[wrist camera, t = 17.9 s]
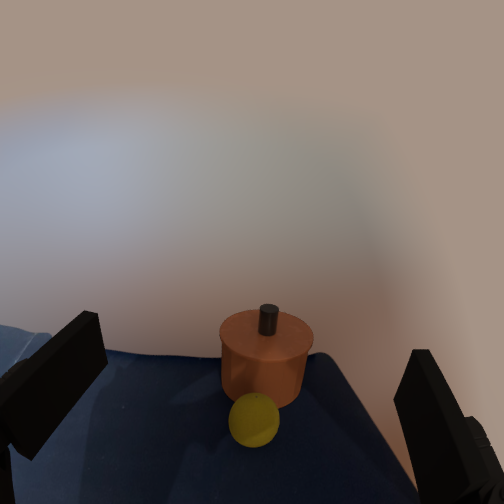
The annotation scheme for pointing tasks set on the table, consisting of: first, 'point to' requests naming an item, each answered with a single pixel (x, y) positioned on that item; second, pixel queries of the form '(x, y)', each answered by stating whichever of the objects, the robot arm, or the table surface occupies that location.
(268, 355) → the pot lid
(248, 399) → the lemon
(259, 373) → the pot
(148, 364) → the table surface
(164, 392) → the table surface
